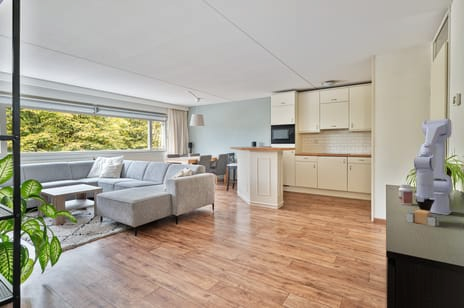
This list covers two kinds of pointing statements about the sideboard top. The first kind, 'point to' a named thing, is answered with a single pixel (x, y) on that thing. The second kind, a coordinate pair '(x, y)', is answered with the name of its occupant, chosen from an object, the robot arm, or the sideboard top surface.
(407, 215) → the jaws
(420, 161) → the robot arm
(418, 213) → the orange block
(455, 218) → the sideboard top surface
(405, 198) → the pill bottle
